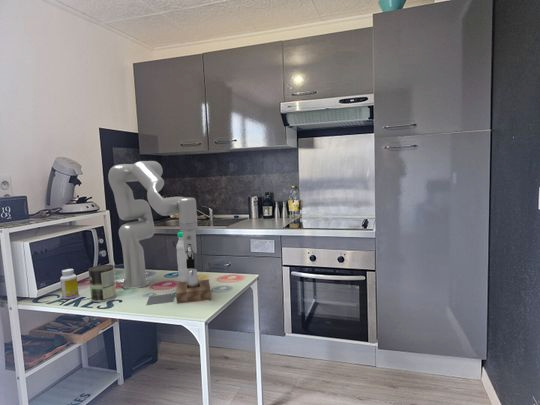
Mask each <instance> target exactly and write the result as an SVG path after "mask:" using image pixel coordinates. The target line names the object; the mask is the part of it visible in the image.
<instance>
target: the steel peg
mask: <svg viewBox="0 0 540 405" xmlns="http://www.w3.org/2000/svg"><path fill="white" fill-rule="evenodd" d="M187 273H188V286H189V288H196V287H198V281H199V280H198V269H196V268H192V269H190V270H187Z"/></svg>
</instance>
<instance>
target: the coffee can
mask: <svg viewBox="0 0 540 405" xmlns="http://www.w3.org/2000/svg"><path fill="white" fill-rule="evenodd" d="M114 268H115V266H114V265H113V264H101V265H100V264H99V265H95V266H92V267H90V268H88V269H87V272H88V276H89V278H88V279H89V287H90V288H89V289H90V295H91V296H90V298H91V301H92V302H94V303H103V302H108V301H110V300H113V299H114V298H116V297H117V293H116V280H115V271H114V270H115V269H114Z"/></svg>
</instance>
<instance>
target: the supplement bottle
mask: <svg viewBox="0 0 540 405" xmlns="http://www.w3.org/2000/svg"><path fill="white" fill-rule="evenodd" d="M74 271H75V270H74V269H73V268H67V269H62V270H61V274H62V275H61V277H60V278H59V279H60V289H61V298H62V299H63V300H72V299H75V298H77V297H79V295H80V294H79V293H80V292H79V287H78V286H79V285H78V278H77V275H76V274H75V273H74Z"/></svg>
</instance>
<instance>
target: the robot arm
mask: <svg viewBox="0 0 540 405" xmlns="http://www.w3.org/2000/svg"><path fill="white" fill-rule="evenodd" d="M163 173H164V172H163V167H162V165H161V163H159V162H158V161H156V160H139V161H137V162H135V163H122V164H115V165H113V166H112V167H111V168H110V169H109V171H108V175H107V176H108V178H107V179H108V183H109V186H110V188H111V191H112V192H113V196H114V202H115V205H116V206H115V207H116V211H117V214H118V217H119V219H120V220H122V221H131V220H138V221H132V222H126V223H125V224H122V225H121V226H120V227H119V229H118V236H119V240H120V243H121V248H122V258H123V266H124V278H122V279H121V278H119V279H116V280H115V284H118V285H121V284H122V289H123V290H134V289H135V290H136V289H141V288H146V287H148V286H150V284H151V282H150V280H148V279H147V274H146V262H145V251H144V247H143V246H142V245H141V243H140V241H142V240H147V239H151V238H152V237H153V236H154V234H155V230H156V228H155V223H154V219H153V217H154V216H153V214H152V209H153V210H154V211H155V212H156V213H157V214H158V215H160V216H163V217H164V216H165V217H167V216H172V215H178V220H179V221H178V224H179V232H183V242H184V250H185V254H187V259H186V263H187V269H191V268H192V269H196V268H195V254H197V234H196V231H197V230H198V214H197V199H196V198H195V197H184V196H170V197H162V195H161V194H160V193H159V192H160V191H161V190H162V189H163V187H164V185H165V180H164V178H162V175H163ZM128 182H129V183H130V182H139V183H140V185H142V186H143V187H144V189H145V190H146V191H147V193H146V198H147V200H145V199H135V198H134V194H133V193H134V192H133V190H132V189H131V187H130V186H129V185H128V184H127V183H128ZM151 208H152V209H151Z"/></svg>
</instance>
